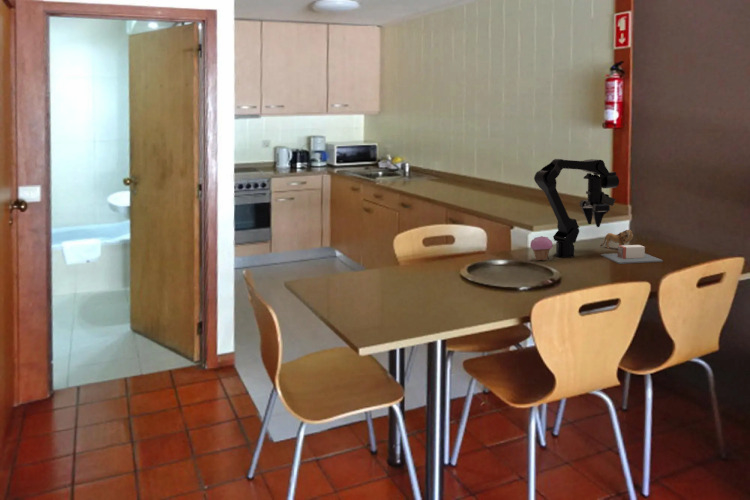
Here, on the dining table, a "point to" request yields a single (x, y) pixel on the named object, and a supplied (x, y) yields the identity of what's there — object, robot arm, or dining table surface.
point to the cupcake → (541, 247)
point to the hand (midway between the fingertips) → (593, 225)
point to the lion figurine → (618, 238)
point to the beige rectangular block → (631, 251)
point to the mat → (631, 259)
